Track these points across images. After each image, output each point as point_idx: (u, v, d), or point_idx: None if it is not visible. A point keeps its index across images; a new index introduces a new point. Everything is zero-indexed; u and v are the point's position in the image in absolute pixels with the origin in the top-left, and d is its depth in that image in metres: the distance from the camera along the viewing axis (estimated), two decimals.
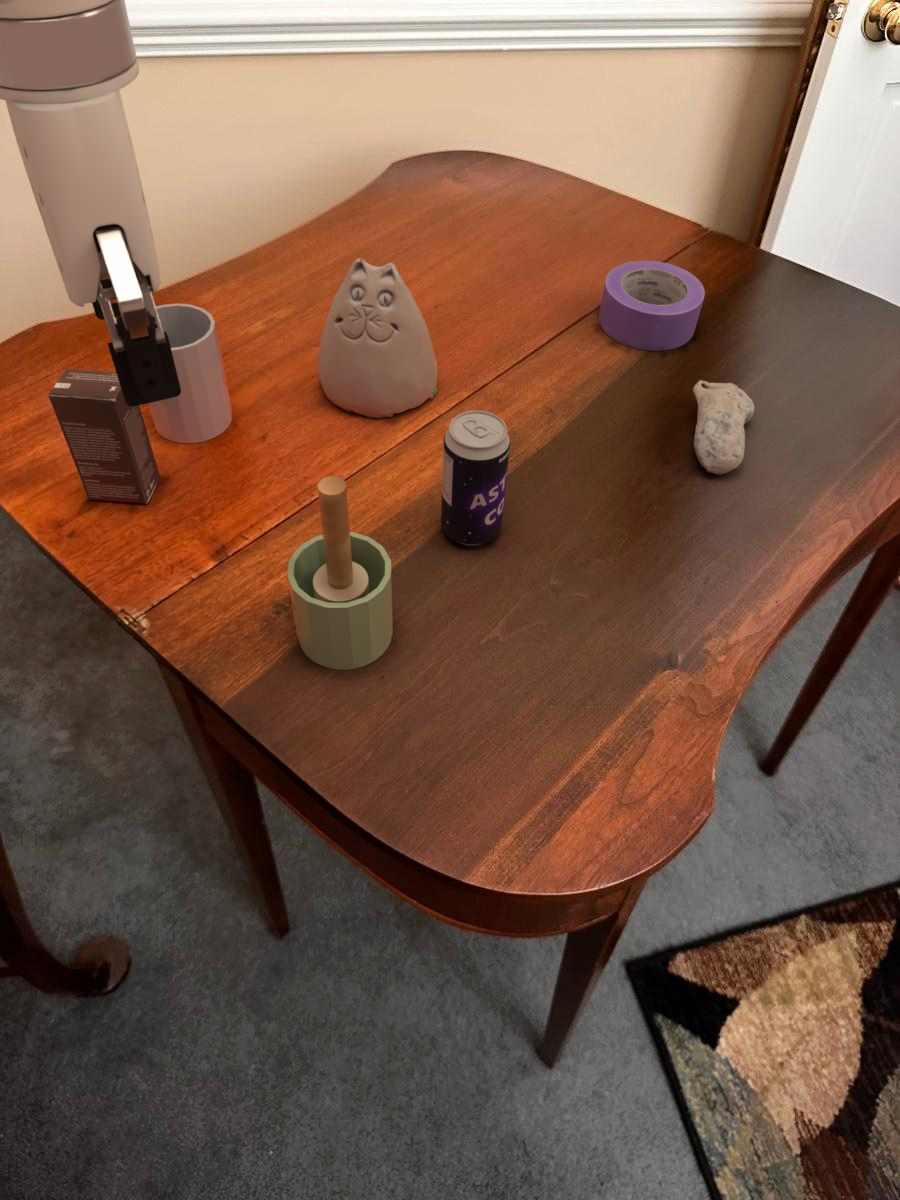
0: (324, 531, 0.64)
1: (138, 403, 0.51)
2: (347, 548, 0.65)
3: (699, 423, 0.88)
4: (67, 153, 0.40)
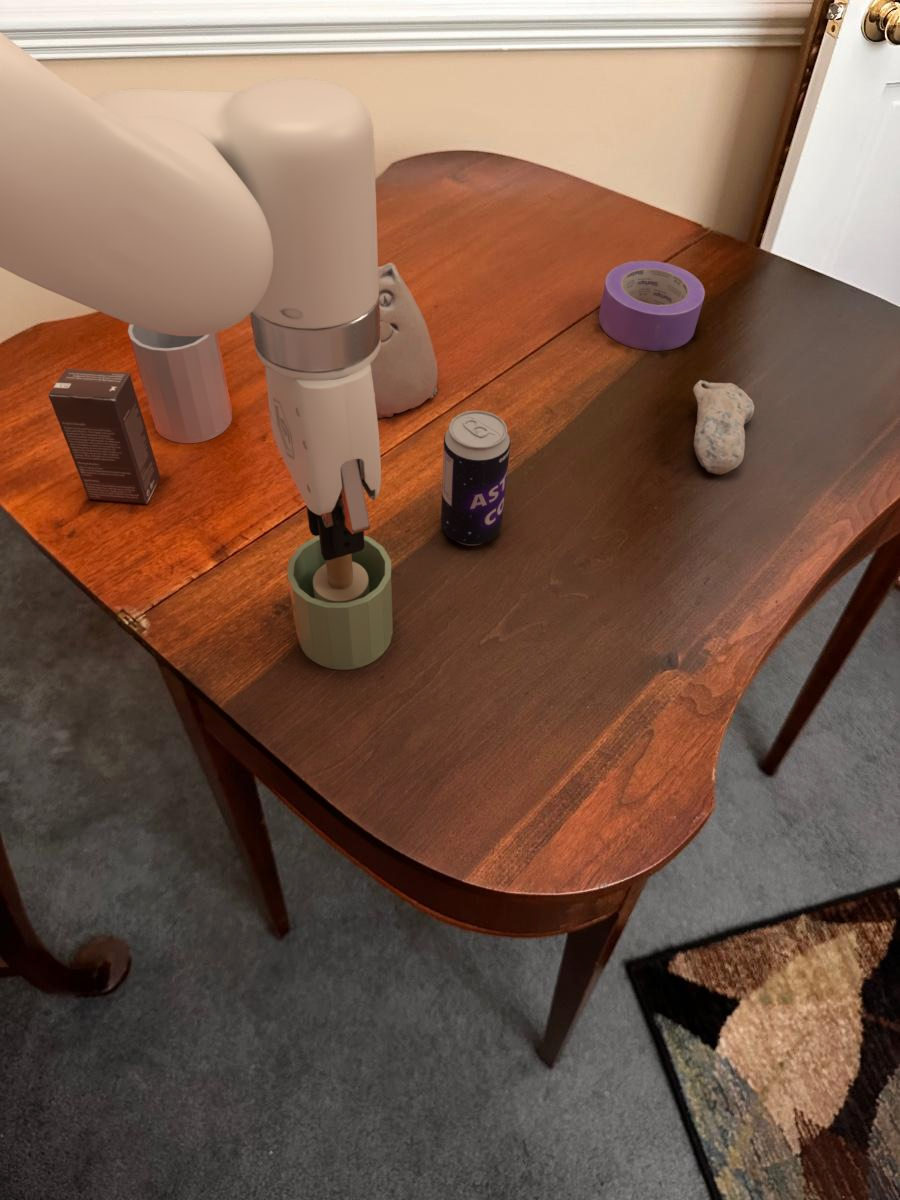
0: None
1: (332, 558, 0.64)
2: None
3: (699, 423, 0.88)
4: (333, 415, 0.51)
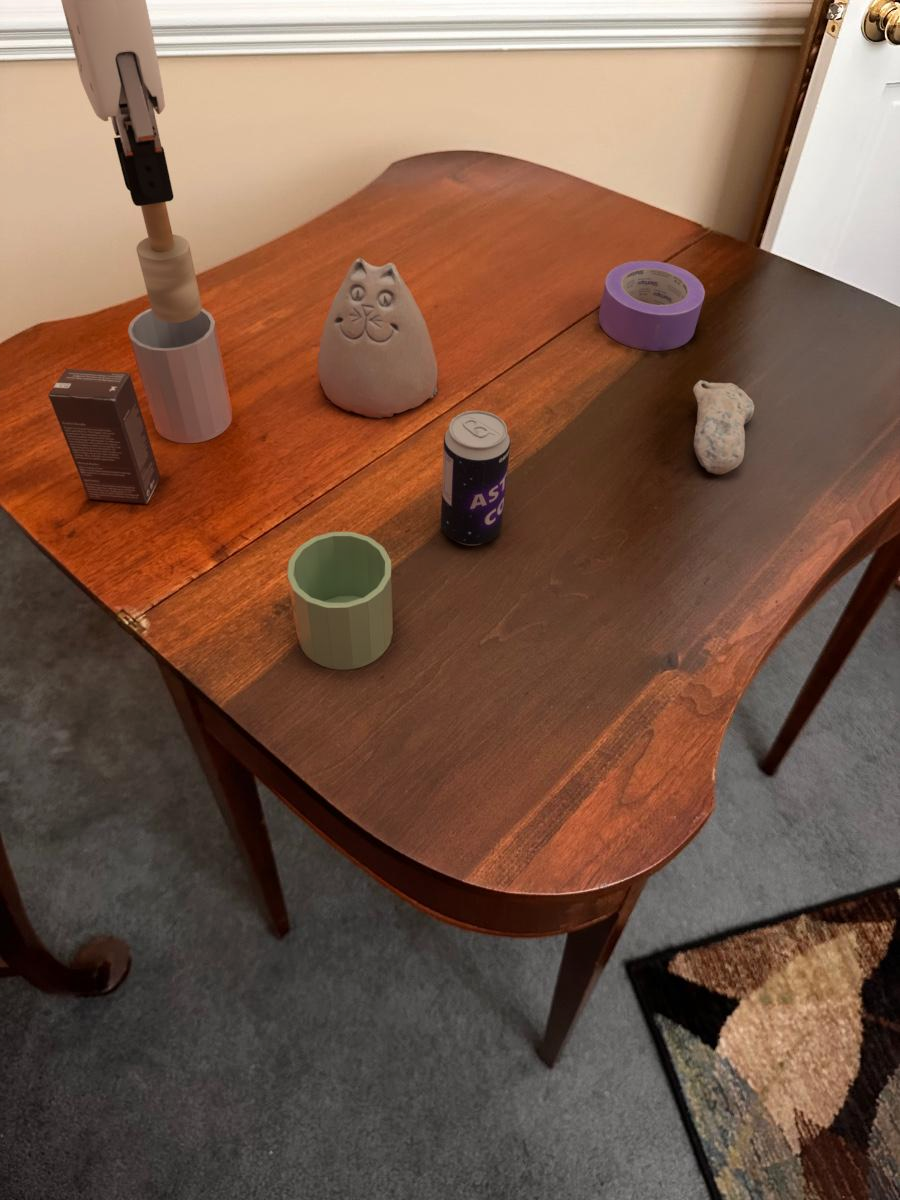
0: None
1: (142, 203, 0.70)
2: None
3: (699, 423, 0.88)
4: None
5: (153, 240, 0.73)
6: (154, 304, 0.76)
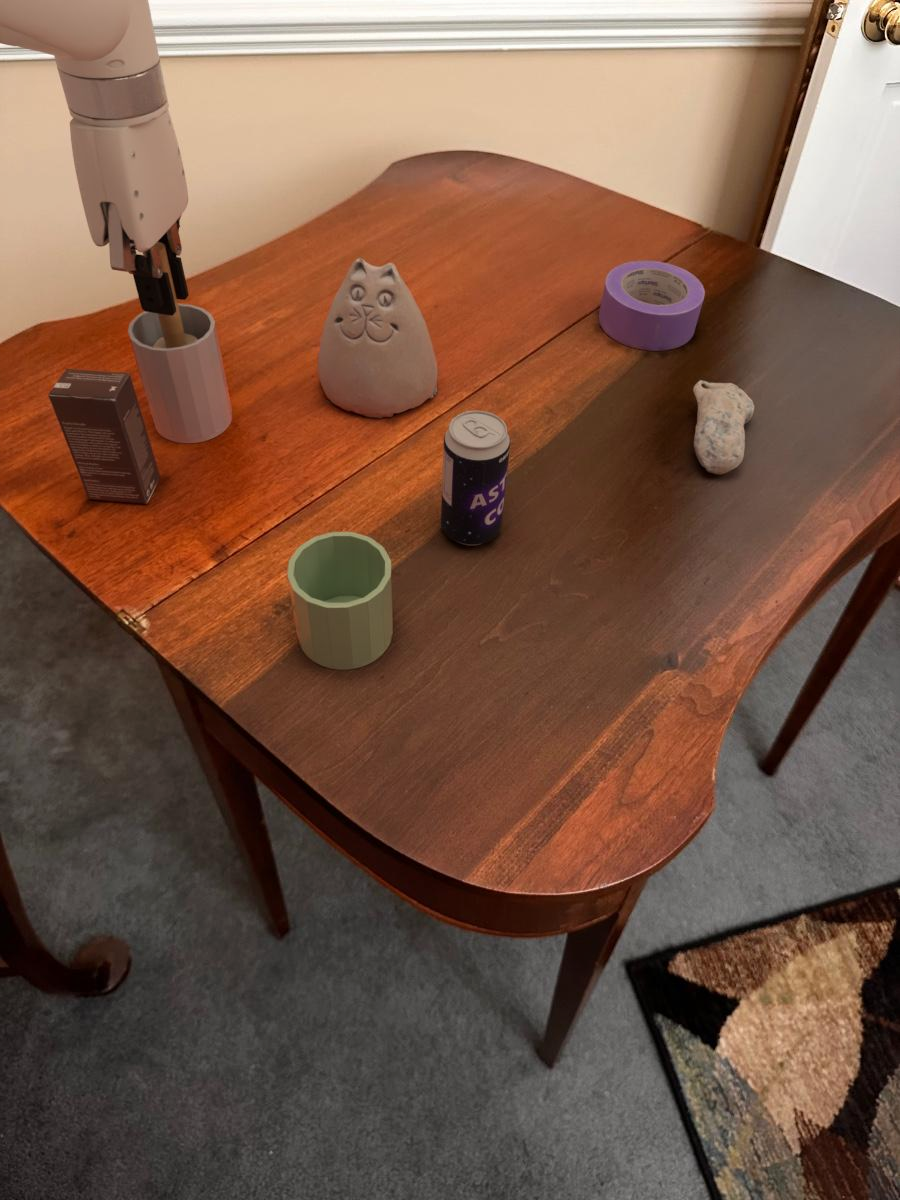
0: None
1: (148, 310, 0.80)
2: None
3: (699, 423, 0.88)
4: (87, 154, 0.67)
5: (164, 339, 0.83)
6: None
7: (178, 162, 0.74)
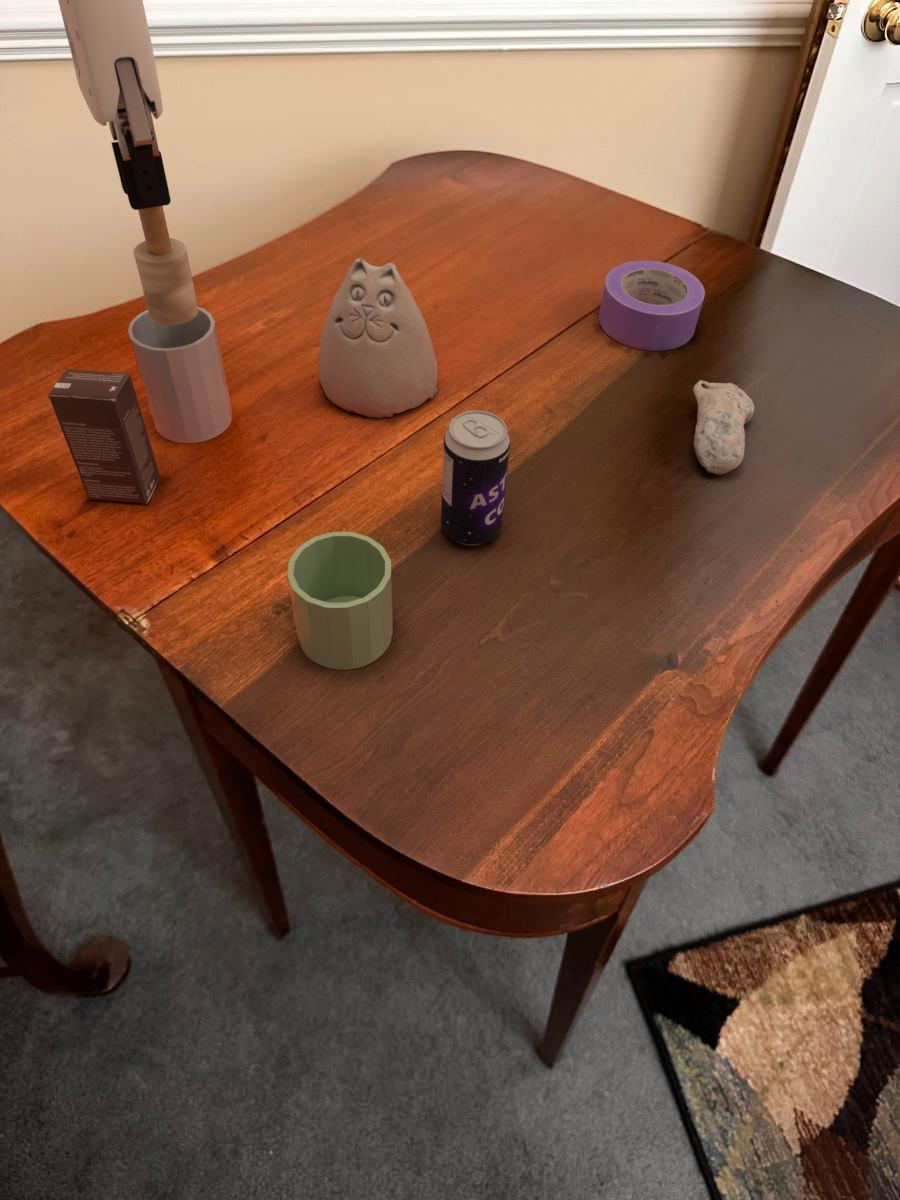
0: None
1: (139, 207, 0.70)
2: None
3: (699, 423, 0.88)
4: None
5: (150, 243, 0.74)
6: (151, 307, 0.77)
7: None
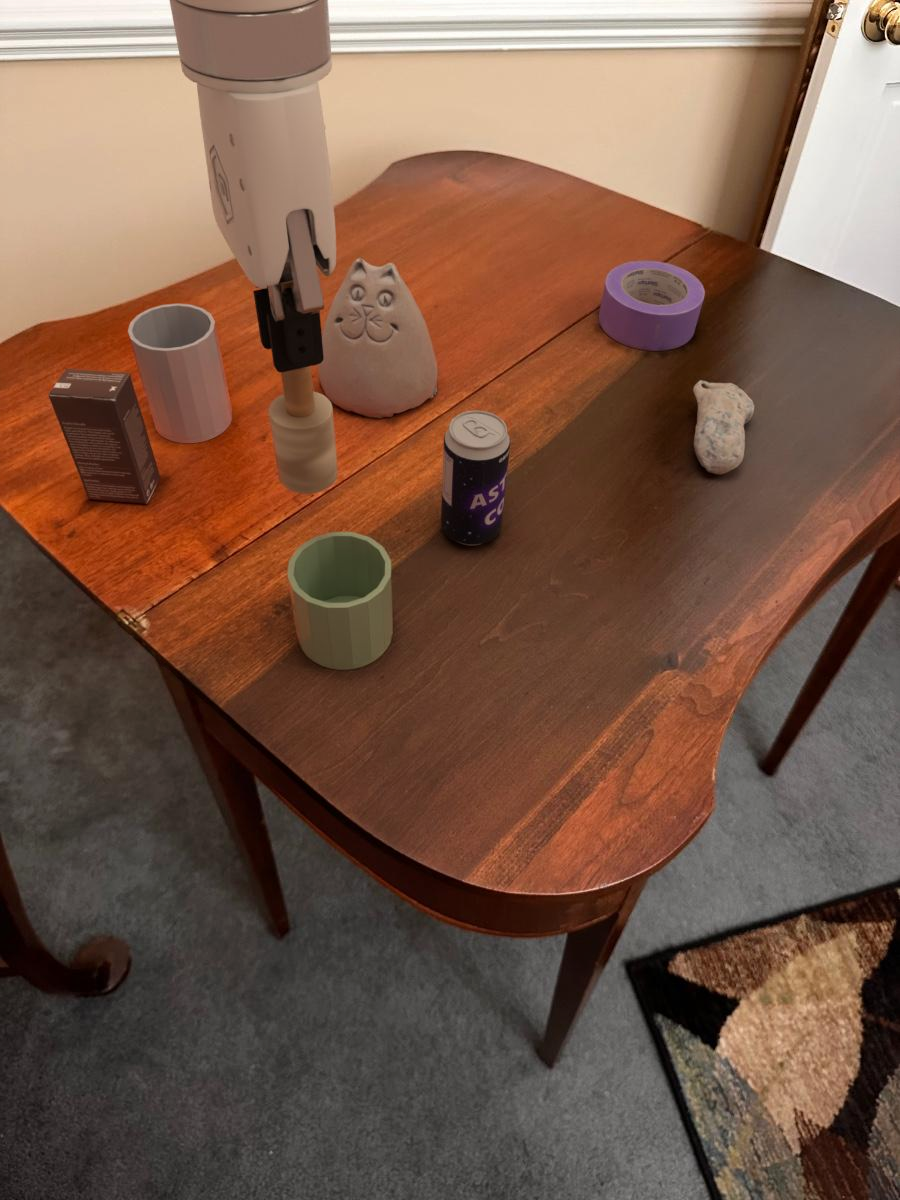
0: None
1: (286, 369, 0.56)
2: None
3: (699, 423, 0.88)
4: (274, 140, 0.42)
5: (292, 405, 0.59)
6: (286, 473, 0.63)
7: None
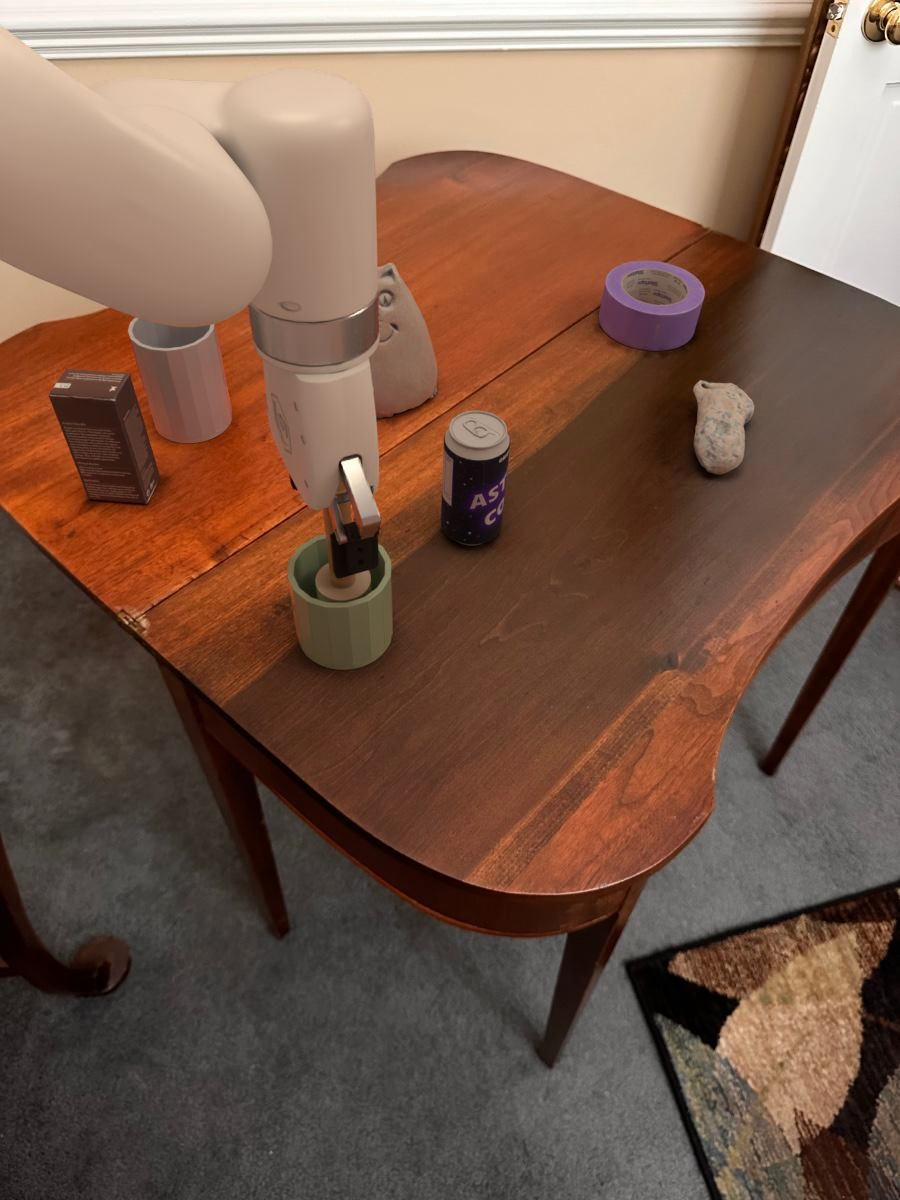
0: (327, 530, 0.64)
1: (344, 575, 0.60)
2: None
3: (699, 423, 0.88)
4: (332, 410, 0.50)
5: (336, 579, 0.67)
6: None
7: None
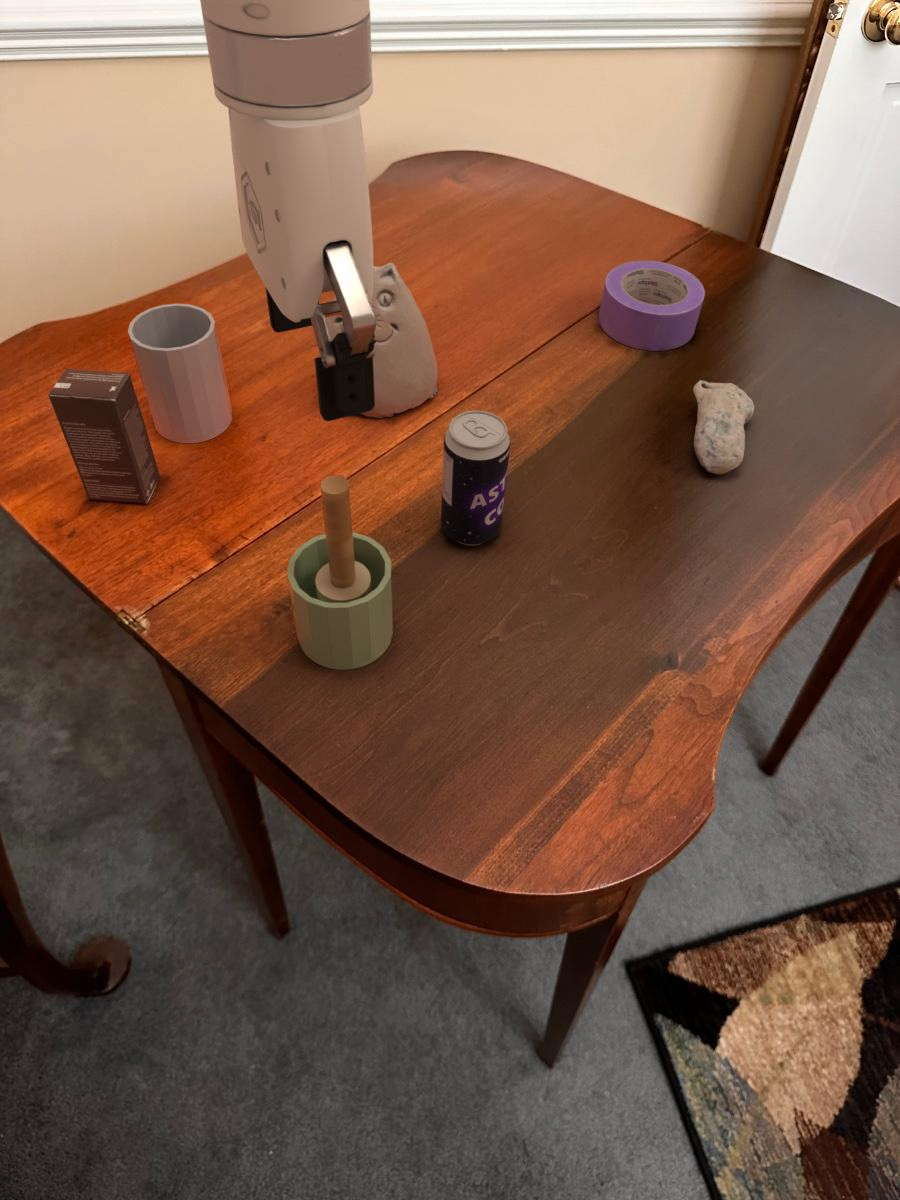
0: (327, 530, 0.64)
1: (334, 418, 0.50)
2: (350, 547, 0.65)
3: (699, 423, 0.88)
4: (312, 170, 0.40)
5: (336, 579, 0.67)
6: None
7: None
